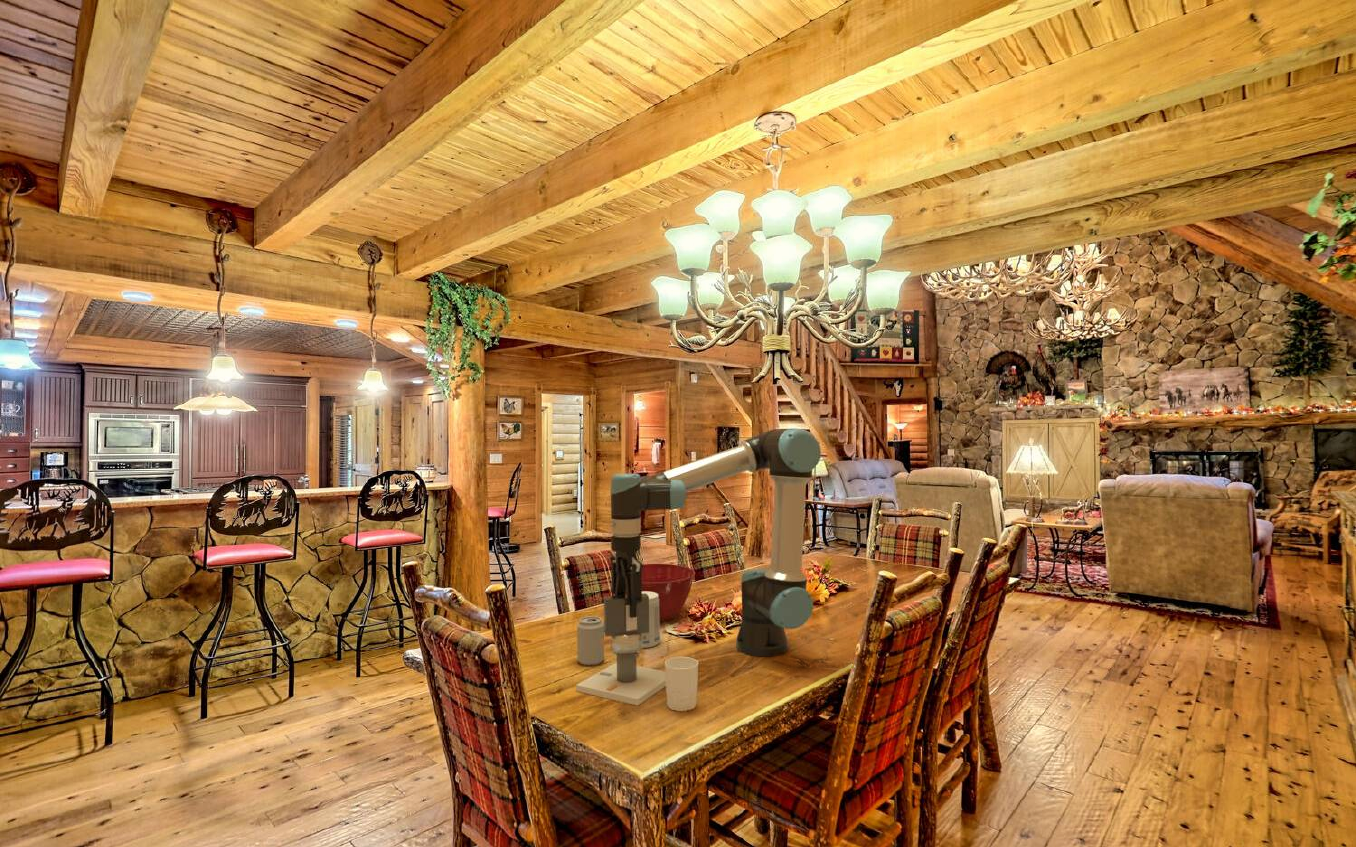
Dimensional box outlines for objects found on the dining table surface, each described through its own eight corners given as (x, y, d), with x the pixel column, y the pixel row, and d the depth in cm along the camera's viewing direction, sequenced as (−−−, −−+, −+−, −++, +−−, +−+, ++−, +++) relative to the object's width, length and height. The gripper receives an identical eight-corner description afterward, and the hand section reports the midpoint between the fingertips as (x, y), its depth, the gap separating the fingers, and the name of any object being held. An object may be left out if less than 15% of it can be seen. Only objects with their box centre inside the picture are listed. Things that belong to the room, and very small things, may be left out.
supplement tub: (647, 636, 198) (647, 589, 198) (666, 644, 191) (665, 595, 191) (621, 643, 192) (621, 594, 192) (640, 651, 185) (639, 600, 185)
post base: (675, 679, 163) (674, 644, 163) (637, 705, 148) (637, 667, 148) (617, 667, 172) (617, 634, 172) (576, 691, 156) (576, 654, 156)
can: (608, 658, 179) (608, 616, 179) (596, 668, 172) (596, 623, 172) (585, 655, 181) (584, 613, 181) (572, 665, 174) (572, 621, 174)
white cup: (674, 715, 142) (674, 671, 142) (659, 702, 149) (658, 660, 149) (704, 708, 146) (704, 664, 146) (688, 696, 153) (688, 654, 153)
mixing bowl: (685, 631, 203) (685, 583, 203) (601, 625, 210) (601, 579, 210) (702, 607, 230) (702, 565, 231) (627, 603, 237) (627, 562, 237)
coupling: (645, 641, 165) (644, 591, 165) (650, 651, 157) (650, 599, 158) (599, 645, 162) (598, 594, 163) (602, 655, 155) (602, 602, 155)
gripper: (597, 531, 166) (598, 620, 166) (628, 541, 151) (629, 639, 151) (623, 529, 170) (623, 616, 170) (656, 538, 155) (656, 633, 154)
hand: (626, 626), depth 160 cm, fingers closed on coupling, 5 cm apart
